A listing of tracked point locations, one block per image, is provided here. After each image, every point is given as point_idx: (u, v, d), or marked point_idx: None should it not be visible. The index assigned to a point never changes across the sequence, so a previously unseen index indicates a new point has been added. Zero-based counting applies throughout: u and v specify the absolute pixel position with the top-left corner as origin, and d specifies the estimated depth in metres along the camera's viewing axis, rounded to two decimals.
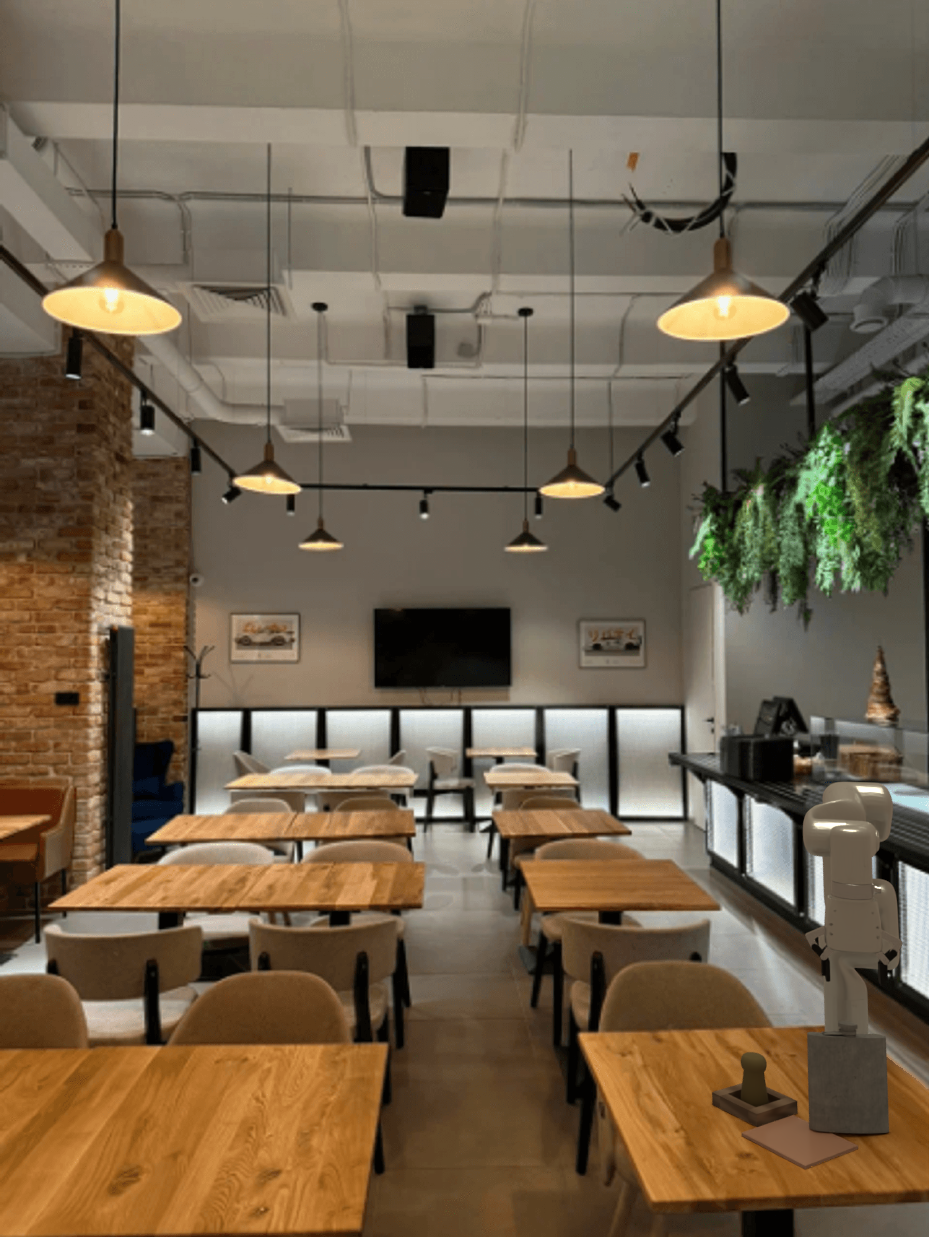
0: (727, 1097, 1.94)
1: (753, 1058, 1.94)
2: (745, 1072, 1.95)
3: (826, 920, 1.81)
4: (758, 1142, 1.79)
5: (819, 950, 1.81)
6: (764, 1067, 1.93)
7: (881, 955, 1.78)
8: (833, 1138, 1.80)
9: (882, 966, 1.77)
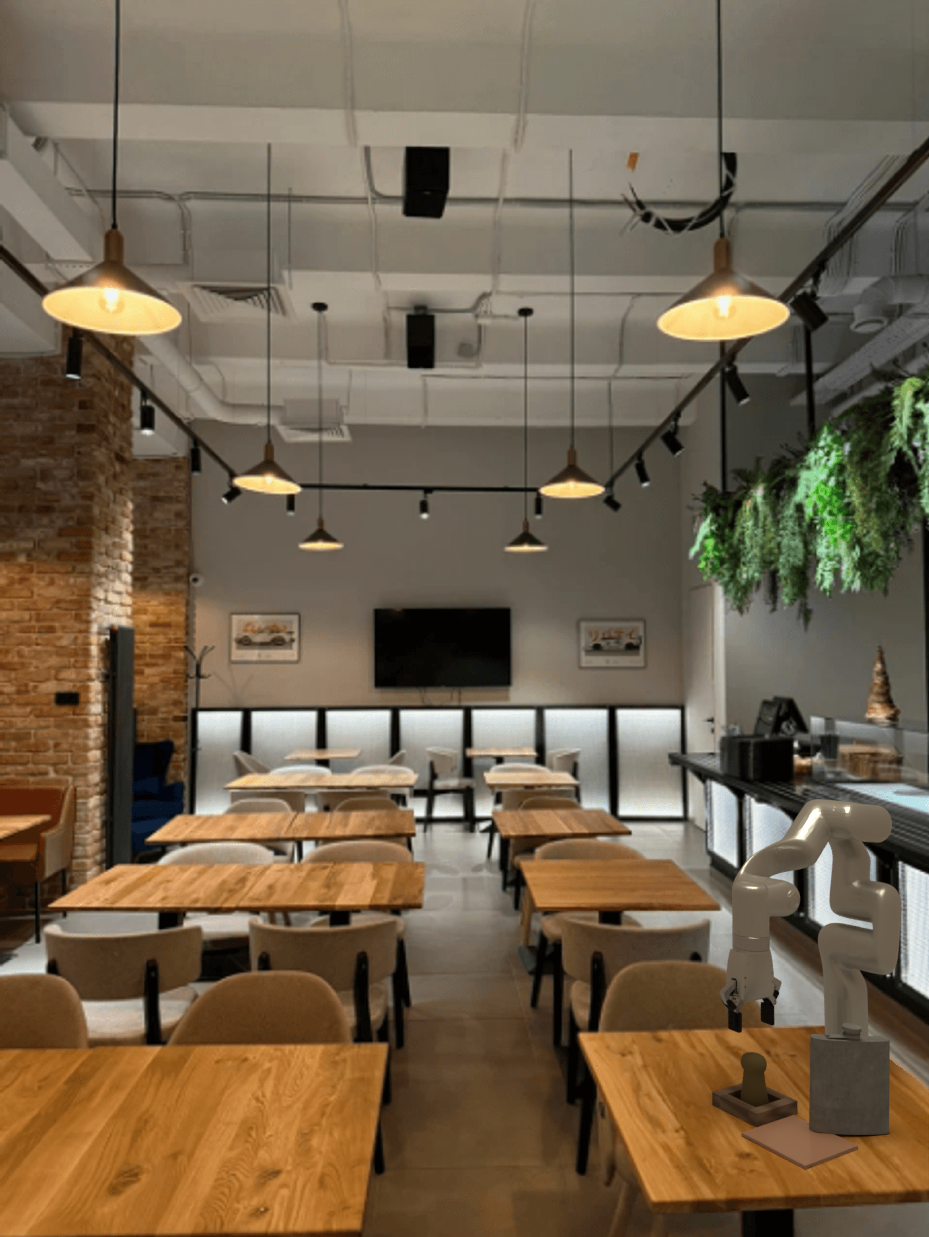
0: (727, 1097, 1.94)
1: (753, 1058, 1.94)
2: (745, 1072, 1.95)
3: (738, 974, 1.93)
4: (758, 1142, 1.79)
5: (733, 1004, 1.92)
6: (764, 1067, 1.93)
7: (772, 997, 1.97)
8: (833, 1138, 1.80)
9: (773, 1007, 1.97)
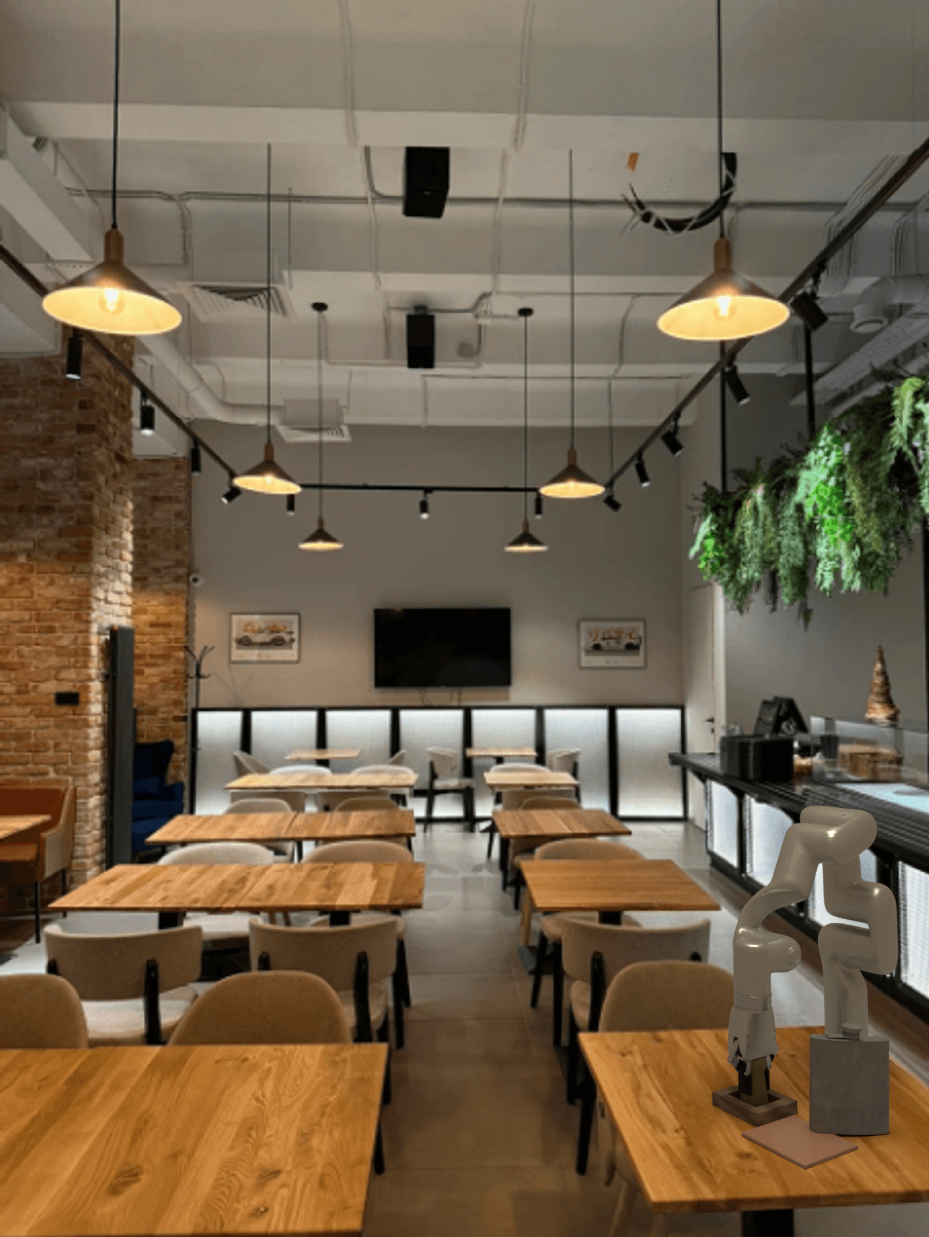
0: (727, 1097, 1.94)
1: None
2: None
3: (740, 1033, 1.92)
4: (758, 1142, 1.79)
5: (741, 1070, 1.92)
6: (764, 1067, 1.93)
7: (769, 1060, 1.96)
8: (833, 1138, 1.80)
9: (768, 1072, 1.95)
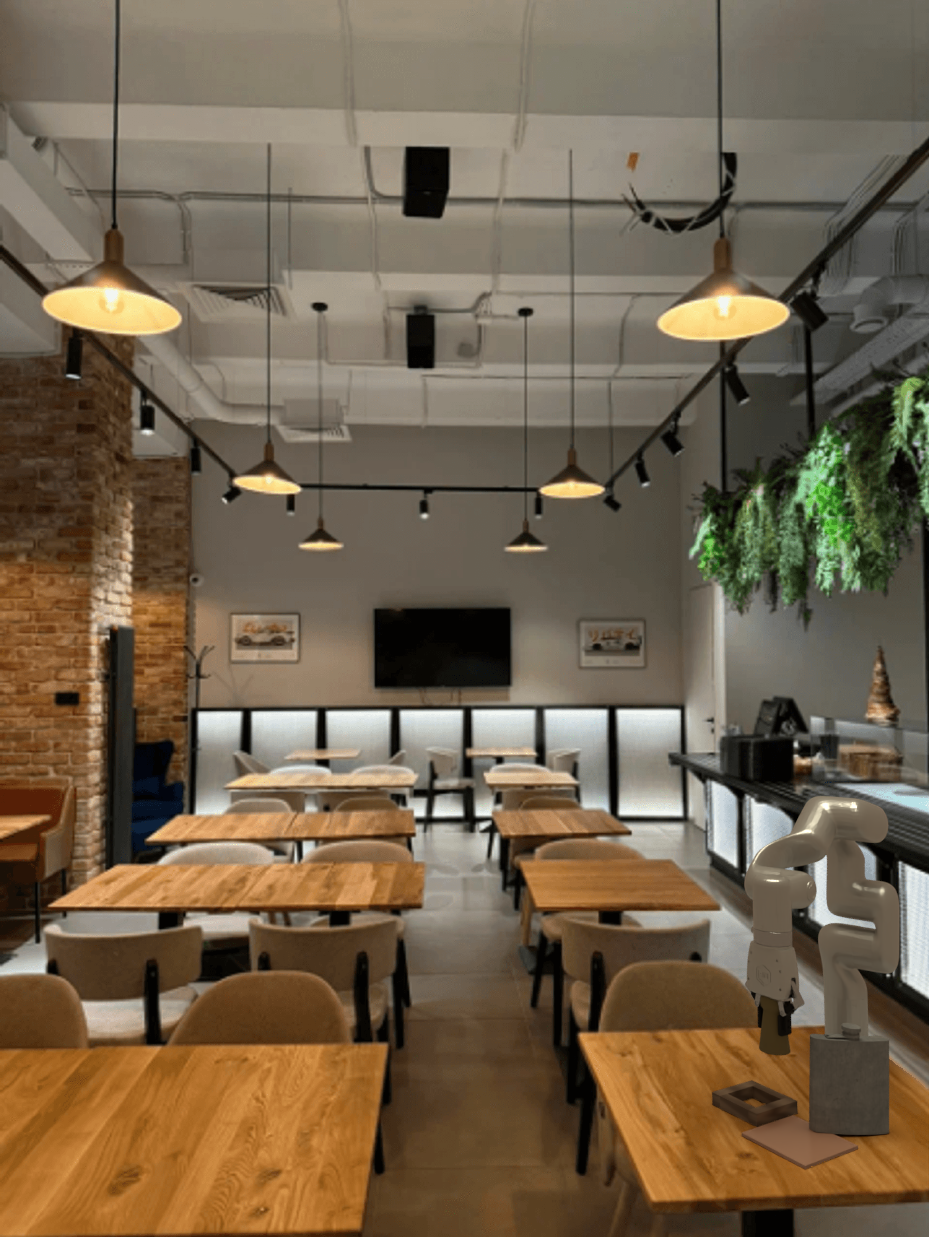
0: (727, 1097, 1.94)
1: None
2: (780, 1014, 1.87)
3: (796, 971, 1.86)
4: (758, 1142, 1.79)
5: None
6: None
7: None
8: (833, 1138, 1.80)
9: None
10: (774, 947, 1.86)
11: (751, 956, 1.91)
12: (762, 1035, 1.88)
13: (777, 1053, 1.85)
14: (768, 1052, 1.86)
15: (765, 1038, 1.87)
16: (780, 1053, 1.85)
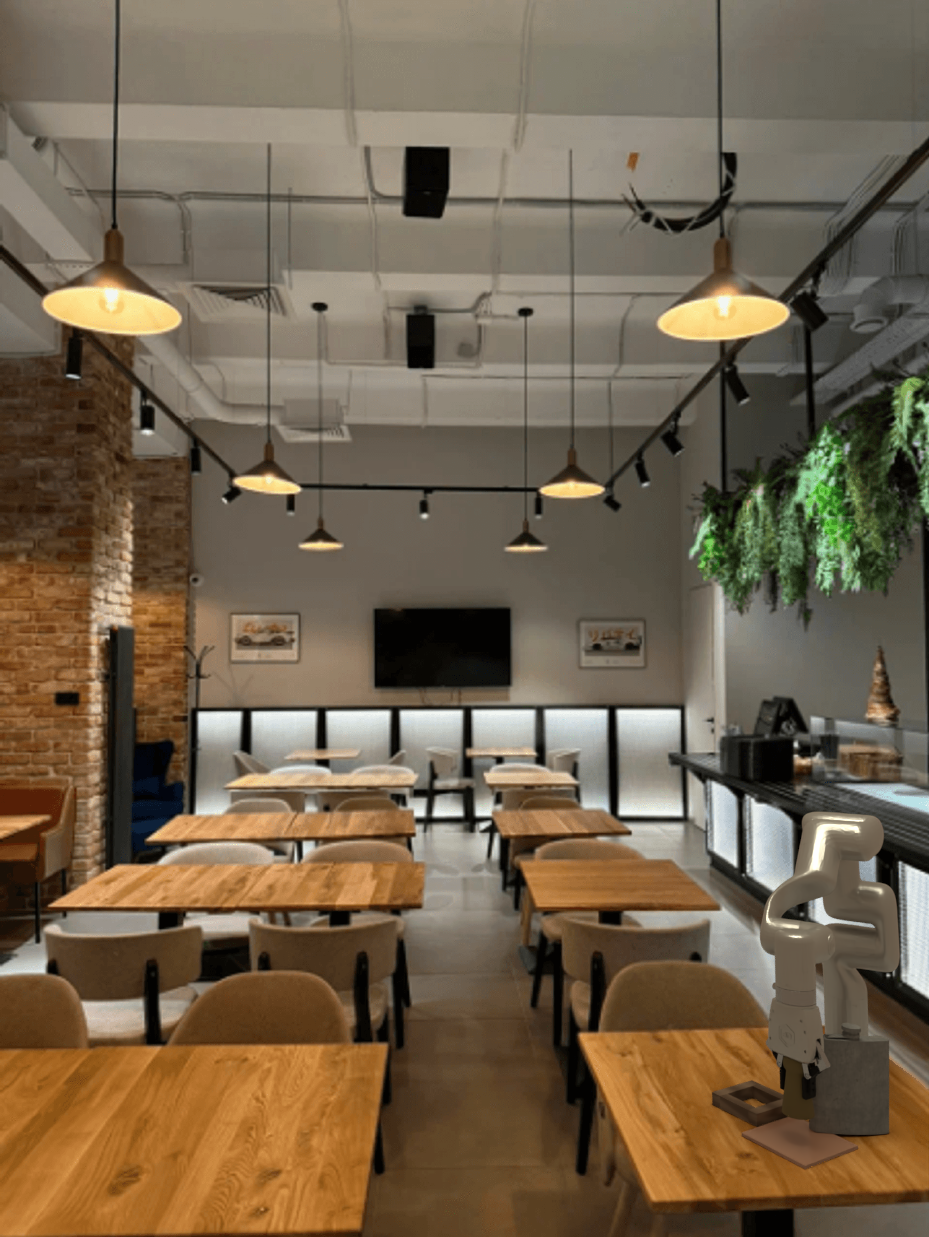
0: (727, 1097, 1.94)
1: None
2: (804, 1076, 1.79)
3: (821, 1032, 1.78)
4: (758, 1142, 1.79)
5: None
6: None
7: None
8: (833, 1138, 1.80)
9: None
10: (798, 1006, 1.79)
11: (773, 1014, 1.84)
12: (785, 1098, 1.80)
13: (801, 1117, 1.78)
14: (792, 1116, 1.78)
15: (789, 1101, 1.79)
16: (804, 1117, 1.78)
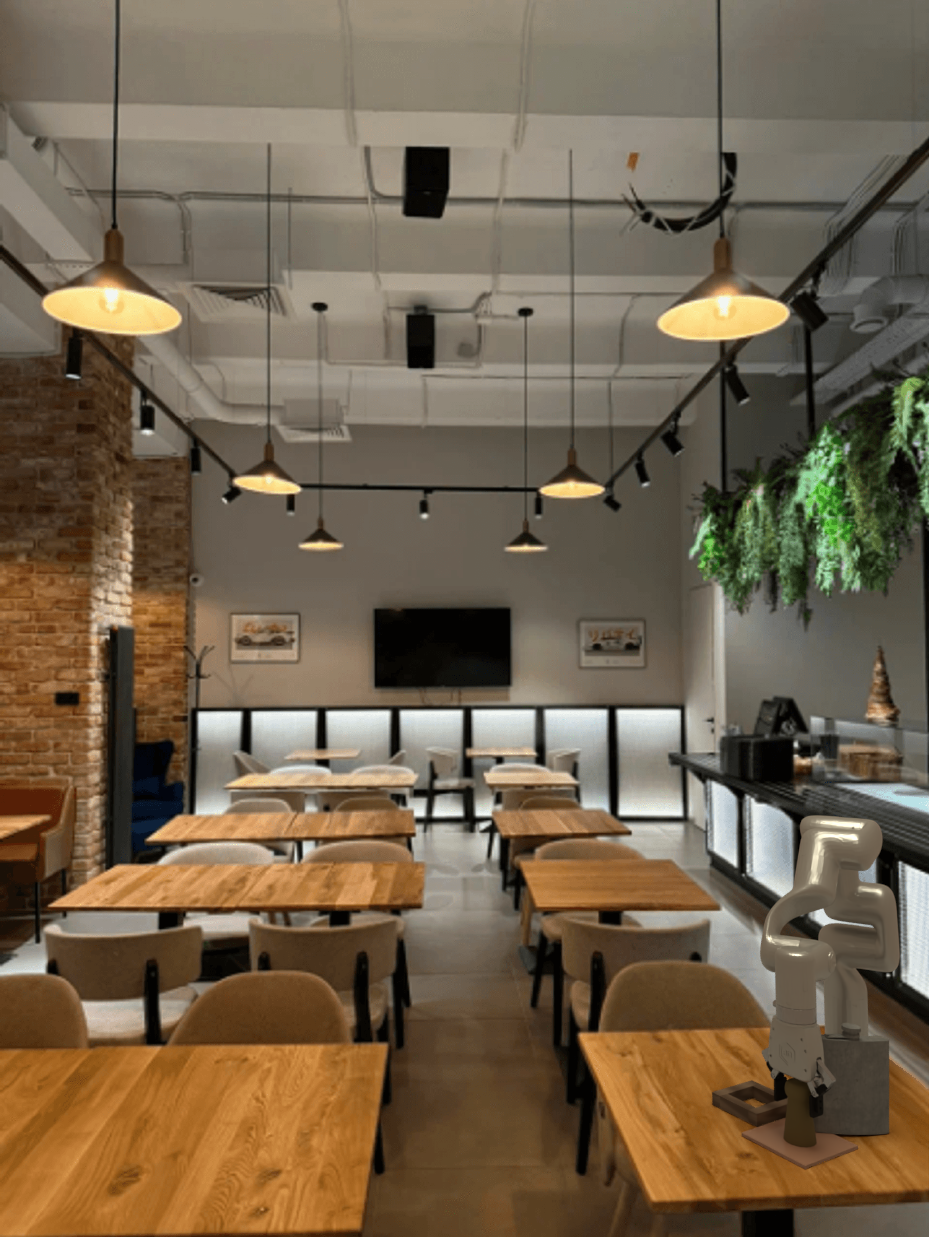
0: (727, 1097, 1.94)
1: None
2: (805, 1103, 1.79)
3: (821, 1050, 1.78)
4: (758, 1142, 1.79)
5: None
6: None
7: None
8: (833, 1138, 1.80)
9: None
10: (799, 1025, 1.78)
11: (773, 1032, 1.83)
12: (787, 1124, 1.80)
13: (803, 1145, 1.77)
14: (793, 1143, 1.78)
15: (790, 1128, 1.79)
16: (806, 1145, 1.77)
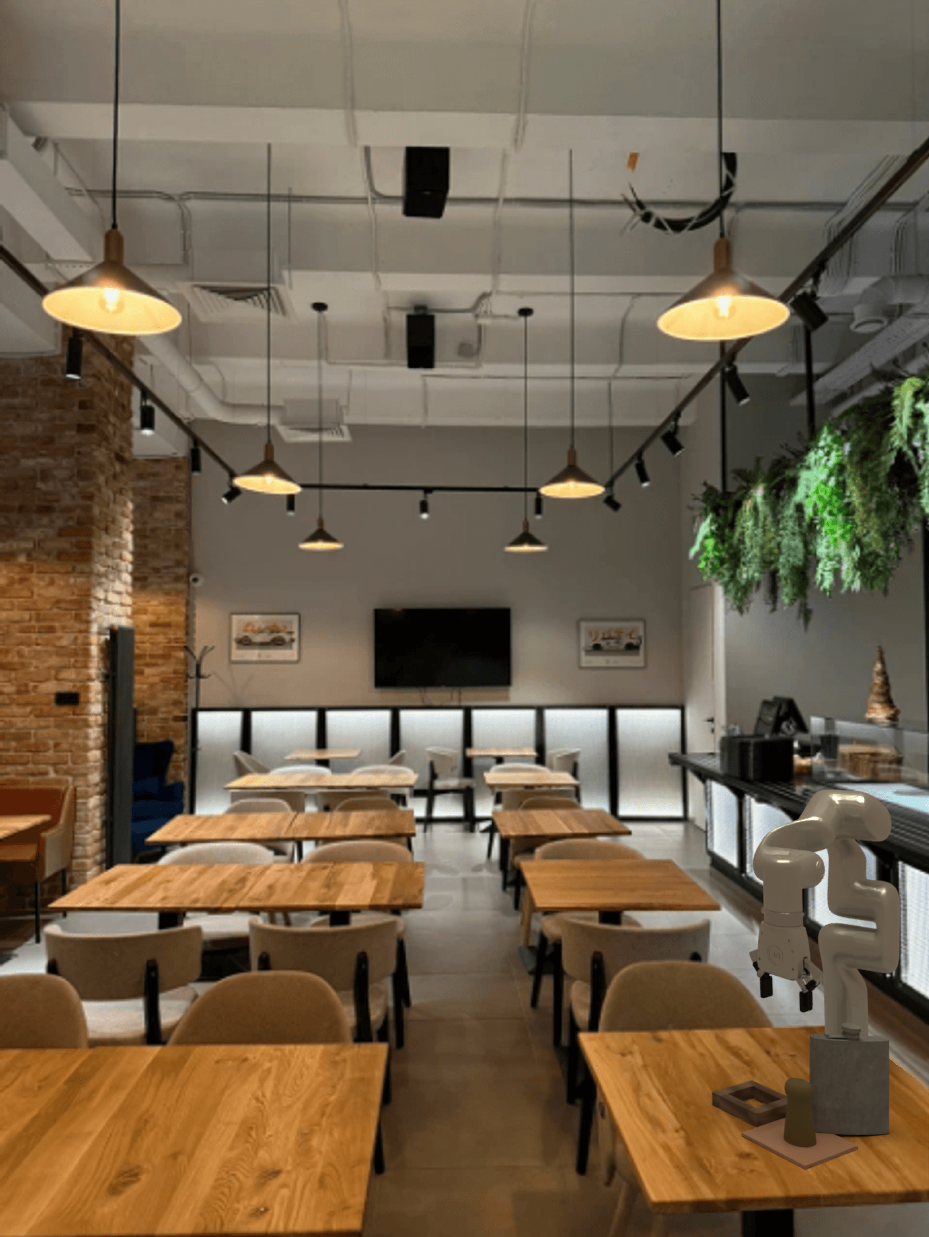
0: (727, 1097, 1.94)
1: (808, 1082, 1.80)
2: (805, 1103, 1.79)
3: (807, 950, 1.87)
4: (758, 1142, 1.79)
5: None
6: None
7: None
8: (833, 1138, 1.80)
9: None
10: (786, 927, 1.87)
11: (762, 936, 1.92)
12: (787, 1125, 1.80)
13: (803, 1145, 1.77)
14: (793, 1143, 1.78)
15: (790, 1128, 1.79)
16: (806, 1145, 1.77)
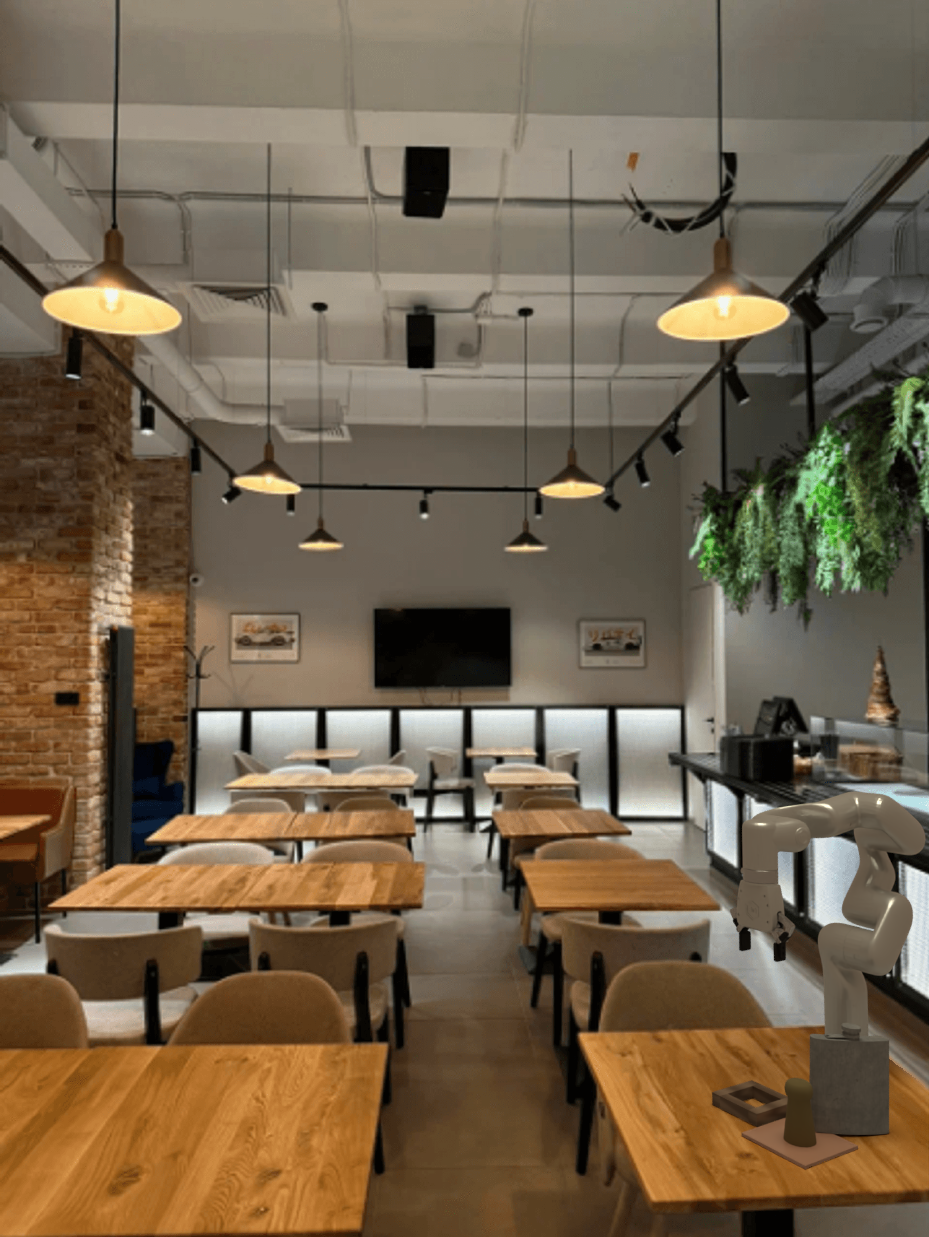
0: (727, 1097, 1.94)
1: (808, 1082, 1.80)
2: (805, 1103, 1.79)
3: (782, 906, 2.05)
4: (758, 1142, 1.79)
5: None
6: None
7: None
8: (833, 1138, 1.80)
9: None
10: (762, 884, 2.05)
11: (741, 894, 2.10)
12: (787, 1125, 1.80)
13: (803, 1145, 1.77)
14: (793, 1143, 1.78)
15: (790, 1128, 1.79)
16: (806, 1145, 1.77)
